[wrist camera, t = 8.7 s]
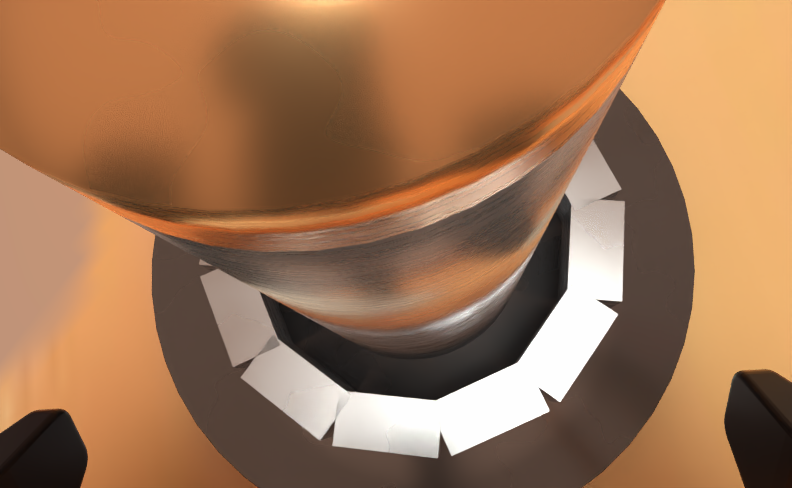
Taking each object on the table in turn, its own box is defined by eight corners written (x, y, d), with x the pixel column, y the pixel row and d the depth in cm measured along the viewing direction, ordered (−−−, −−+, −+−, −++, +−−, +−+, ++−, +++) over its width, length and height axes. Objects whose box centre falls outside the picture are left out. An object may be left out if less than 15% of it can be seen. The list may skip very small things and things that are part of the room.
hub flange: (482, 663, 15) (486, 709, 13) (65, 316, 18) (9, 304, 16) (785, 189, 17) (835, 157, 15) (362, -53, 20) (349, -110, 18)
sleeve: (516, 366, 16) (765, 231, 3) (296, 352, 16) (-264, 188, 4) (522, 154, 17) (714, -563, 4) (317, 148, 17) (-43, -500, 5)
